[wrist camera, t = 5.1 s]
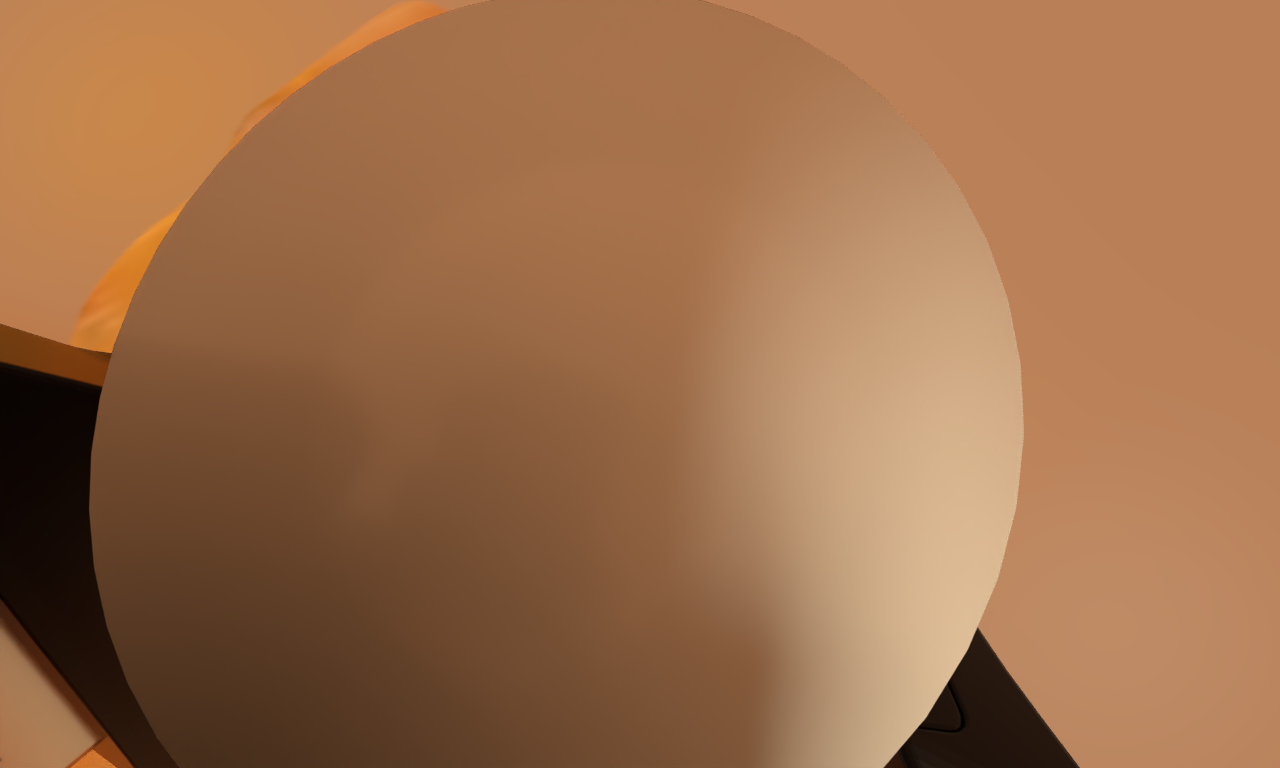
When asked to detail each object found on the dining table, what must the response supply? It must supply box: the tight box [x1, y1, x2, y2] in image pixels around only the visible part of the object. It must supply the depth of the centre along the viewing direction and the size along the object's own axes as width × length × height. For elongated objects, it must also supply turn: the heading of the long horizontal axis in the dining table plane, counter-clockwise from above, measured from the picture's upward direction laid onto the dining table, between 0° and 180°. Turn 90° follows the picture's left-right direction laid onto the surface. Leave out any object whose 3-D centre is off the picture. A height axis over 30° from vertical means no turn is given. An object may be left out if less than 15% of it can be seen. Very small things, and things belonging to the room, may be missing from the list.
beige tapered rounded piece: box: [89, 0, 1024, 768], centre depth 9 cm, size 5×5×13 cm
